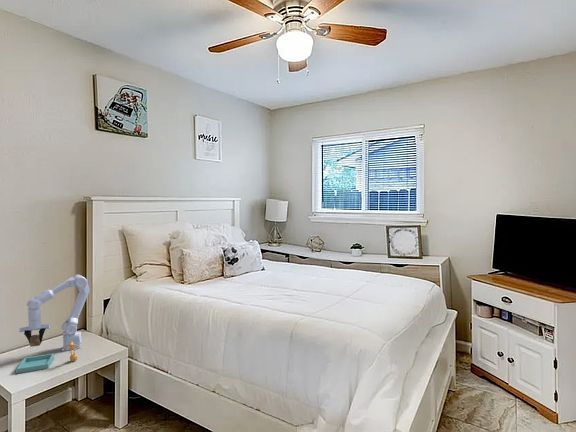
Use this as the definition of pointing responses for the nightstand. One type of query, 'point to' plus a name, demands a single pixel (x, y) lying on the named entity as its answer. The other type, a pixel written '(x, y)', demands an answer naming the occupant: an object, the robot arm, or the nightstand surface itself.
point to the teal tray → (35, 363)
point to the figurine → (73, 356)
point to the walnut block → (35, 340)
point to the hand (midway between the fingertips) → (35, 342)
